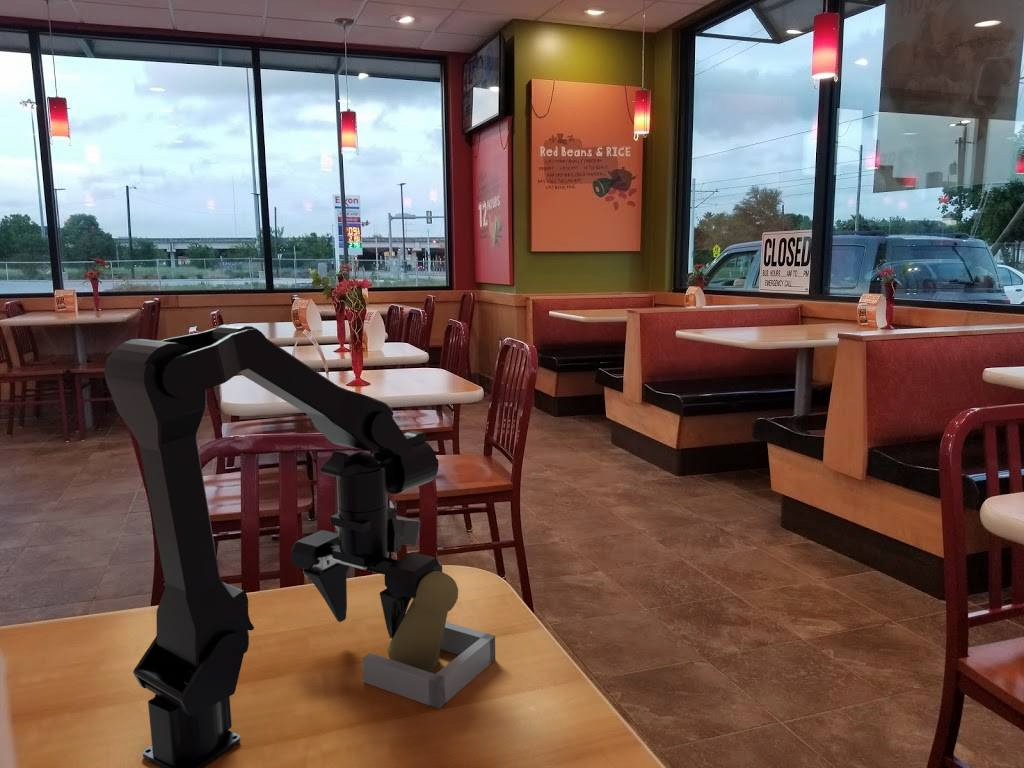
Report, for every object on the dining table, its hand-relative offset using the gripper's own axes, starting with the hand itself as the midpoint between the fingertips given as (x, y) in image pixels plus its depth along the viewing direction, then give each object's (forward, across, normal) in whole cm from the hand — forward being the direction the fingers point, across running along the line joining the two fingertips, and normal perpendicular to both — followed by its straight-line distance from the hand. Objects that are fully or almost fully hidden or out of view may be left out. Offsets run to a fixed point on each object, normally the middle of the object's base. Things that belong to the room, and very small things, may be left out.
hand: (367, 628), depth 93 cm
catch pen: (+3, -9, 0) cm, 9 cm away
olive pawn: (+2, -7, 0) cm, 7 cm away
